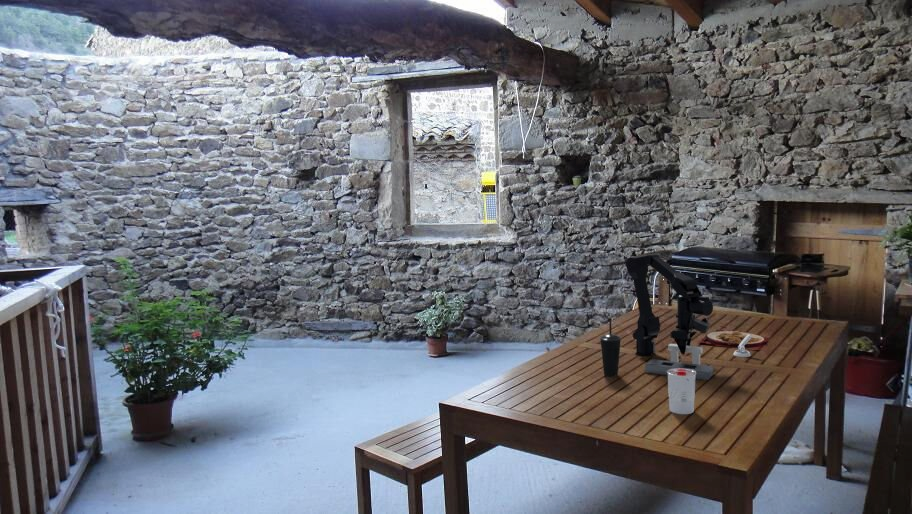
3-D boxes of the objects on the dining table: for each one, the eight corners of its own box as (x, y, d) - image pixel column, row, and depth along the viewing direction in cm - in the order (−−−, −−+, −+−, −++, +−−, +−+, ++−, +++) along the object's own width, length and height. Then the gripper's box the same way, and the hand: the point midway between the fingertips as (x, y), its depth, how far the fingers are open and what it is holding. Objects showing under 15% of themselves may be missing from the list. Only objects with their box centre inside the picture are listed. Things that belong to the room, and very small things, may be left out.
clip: (668, 363, 254) (668, 345, 253) (670, 361, 256) (670, 343, 255) (700, 367, 247) (700, 348, 246) (702, 365, 250) (702, 346, 249)
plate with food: (697, 346, 282) (697, 337, 281) (717, 332, 302) (717, 324, 302) (759, 354, 267) (759, 345, 266) (775, 339, 287) (775, 331, 287)
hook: (764, 345, 258) (753, 338, 257) (747, 365, 260) (737, 358, 259) (755, 338, 264) (745, 331, 263) (739, 358, 266) (729, 351, 265)
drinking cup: (622, 372, 244) (622, 318, 242) (620, 378, 237) (620, 322, 235) (601, 371, 247) (600, 317, 244) (598, 376, 239) (598, 322, 237)
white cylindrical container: (661, 406, 207) (661, 368, 205) (687, 404, 207) (688, 366, 206) (674, 417, 197) (674, 377, 195) (702, 415, 197) (702, 375, 196)
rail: (645, 372, 243) (645, 364, 243) (651, 366, 250) (651, 359, 249) (708, 380, 231) (708, 371, 231) (713, 374, 238) (713, 366, 237)
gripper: (701, 318, 237) (701, 360, 239) (713, 309, 253) (713, 349, 255) (670, 315, 243) (670, 357, 245) (683, 306, 259) (683, 346, 261)
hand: (685, 352), depth 251 cm, fingers open, 6 cm apart
